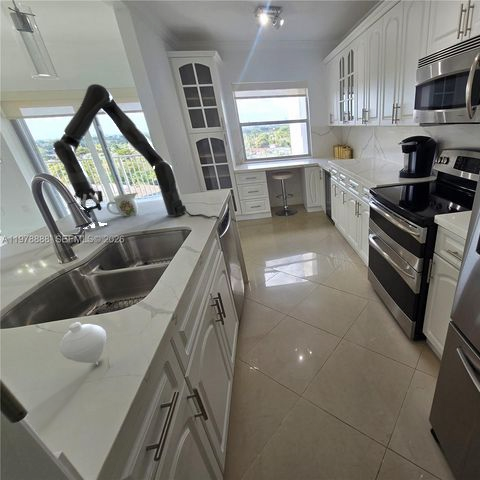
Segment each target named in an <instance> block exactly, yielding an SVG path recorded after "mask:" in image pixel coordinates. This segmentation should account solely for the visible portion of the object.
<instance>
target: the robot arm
mask: <svg viewBox="0 0 480 480" xmlns="http://www.w3.org/2000/svg"><path fill="white" fill-rule="evenodd" d="M101 110H102V111H103V113H105V114H106V115H107V117H108V118H109V119H110V120H111V122H112V123H113V124H114V126H115V128H116V129H117V130H118V132H119V133H120V134H121V136H122V137H123V138H124V140H126V142H128V143H129V145H130V146H131V147H132V148H133V149H134V150H136V152H137V153H139V154H140V155H141V156H142V157H143V158H144V159H145V160H146V161H147V163H148V165H150V167H151V168H152V170H153V172H154V174H155V178H156V181H157V184H158V187H159V190H160V195H161V197H162V200H163V204H164V207H165V210H166V212H167V216H168V217H169V218H170V217H171V218H172V217H179V216H182V215H185V214H186V213H187V215H189V216H190V217H199V216H202V217H205V218H208V219H210V218H211V219H212V218H217V219H220V217H219V216H218V215H210V216H209V215H206V214H202V213H200V214H191V213H189V211H187V207H186V205H185V204H183V201H182V199H181V196H180V193H179V189H178V187H177V181H176V178H175V173H174V171H173V168H172V165H171V164H170V163H169V162H168V161H166V159H164V158H163V157H162V156H161V155H160V154H159V153H158V152H157V150H156V149H155V148H154V147H153V144H152V143H151V141H150V140H149V138H148V137H147V136H146V134H145V133H144V132H143V131H142V130H141V128H140V127H139V126H138V125H137V124H136V123H135V122H134V121H133V120H132V119H131V117H129V115H127V114H126V113H125V112H124V111H123V109H122V108H121V107H120V106H119V104H118V103H117V102H116V100H115V99H114V97H113V95H112V93H111V92H110V91H109V90H108V89H107V88H106V87H105V86H103V85H101V84H99V83H92V84H90V85H88V86H87V88H86V92H85V95H84V97H83V100H82V102H81V104H80V106H79V107H78V109H77V111H76V112H75V114H74V115H73V116H72V118H71V119H70V120H69V122H68V124H67V125H66V126H65V128H64V131H63V134H62V136H61V138H60V139H58V140H56V141H54V142H53V145H52V148H53V151H54V153H55V155H56V156H57V158H58V160H59V161H60V162H61V163H62V166H63V168H64V169H65V172H66V175H67V178H68V180H69V182H70V184H71V186H72V189H73V191H74V195H73V196H74V197H75V198H76V200H78V199H79V201H80V202H79V204H80V205H81V206H82V207H83V208H84V209H85V210H86V211H88V209H87V207H88V206H86V204H87V201H89V200H91V201H93V202H94V204H95V206H96V205H97V206H98V208H97V210H98V211H102V209H103V208H102V204H101V203H102V202H104V199H103V192H102V190H95V189H94V188H93V185H92V184H91V183H92V182H91V181H90V178H89V176H88V174H87V173H86V171H85V169H84V166H83V165H82V162H81V161H80V160H79V159H78V158H77V156H76V153H75V152H76V151H77V149H79V146H80V144H81V142H82V140H83V139H84V137H85V136H86V135H87V133H88V131H89V129H91V128H90V127H91V126H92V123H93V122H94V120H95V117H96V116H97V114H98V113H99V112H100V111H101ZM95 195H97V197H95ZM82 207H81V208H82ZM88 214H89V211H88Z"/></svg>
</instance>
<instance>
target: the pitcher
mask: <svg viewBox="0 0 480 480" xmlns="http://www.w3.org/2000/svg"><path fill="white" fill-rule="evenodd" d="M138 194H139V193H138V192H132V193H125V194H120V195H117V196H113V197H112V199H113V200H114V201H109V202H107V203H106V209H107V211H108V212H109V213H110V214H112V215H116V216H119V215H121V216H122V217H131V216H133V217H136V216H138V212H139V207H138V203H137V201H136V196H137V195H138ZM110 205H114V206H115V208H116V210H117V212H116V211H112V209H111V208H110Z"/></svg>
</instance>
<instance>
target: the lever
mask: <svg viewBox="0 0 480 480" xmlns="http://www.w3.org/2000/svg"><path fill="white" fill-rule="evenodd" d="M86 207H87V209H88V211H89V212H90V210H93V211H94V210H96V209H97V208H98V206H97V205H96V204H95V205H92V206H89V207H88V206H86ZM97 210H98V209H97Z"/></svg>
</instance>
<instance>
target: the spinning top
mask: <svg viewBox="0 0 480 480" xmlns="http://www.w3.org/2000/svg"><path fill="white" fill-rule="evenodd" d="M68 329H69V331H67V332H66V333H65V334H64V335H63V337H62V339H61V342H60V344H59V352H60V354H61V355H62V357H64V358H66V359H67V360H70V361H74V362H79V363H85V364H95V365H96V366H99V363H98V361H99V360H100V358H101V357H102V354H103V352H104V349H105V348H106V347H105V346H106V342H107V333H106V330H105V329H104V328H103V327H102V326H100V325H97V324H92V323H85V324H81V322H79V321H78V322H77V321H76V322H73V323H71V324H70V325H69V327H68Z"/></svg>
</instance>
